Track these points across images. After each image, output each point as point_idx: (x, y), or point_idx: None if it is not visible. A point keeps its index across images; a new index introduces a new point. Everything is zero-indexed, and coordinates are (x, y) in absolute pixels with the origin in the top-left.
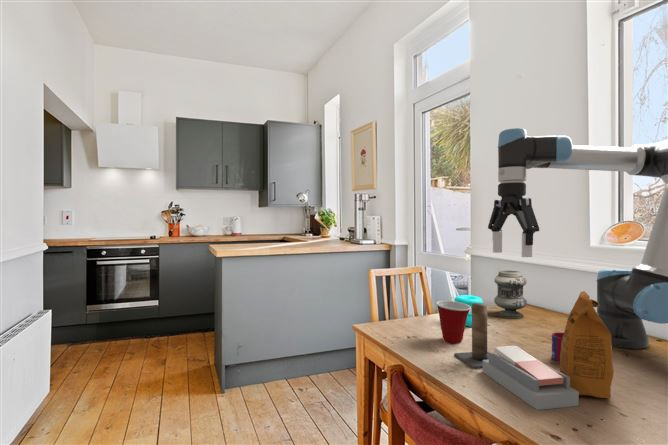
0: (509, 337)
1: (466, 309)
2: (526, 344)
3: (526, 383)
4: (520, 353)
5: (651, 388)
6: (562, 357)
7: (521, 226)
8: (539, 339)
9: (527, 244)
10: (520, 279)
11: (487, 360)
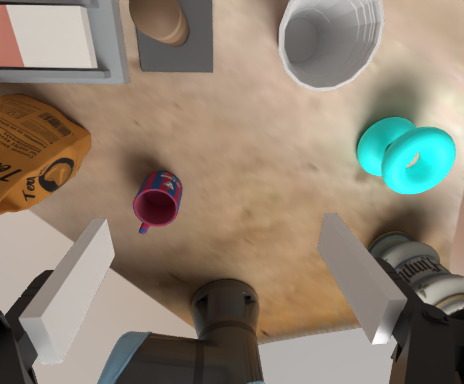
0: (281, 172)
1: (280, 53)
2: (240, 177)
3: None
4: (51, 49)
5: (59, 221)
6: (16, 111)
7: (15, 380)
8: (258, 213)
9: (48, 273)
10: None
11: (107, 3)
